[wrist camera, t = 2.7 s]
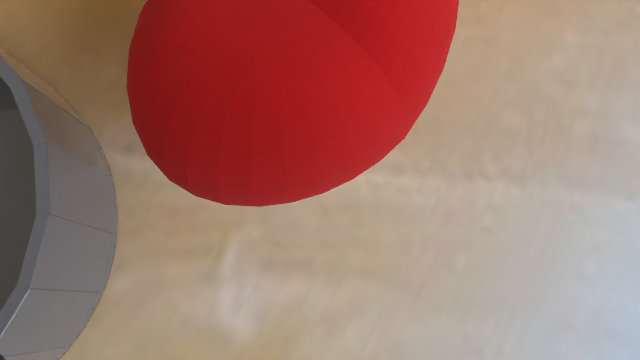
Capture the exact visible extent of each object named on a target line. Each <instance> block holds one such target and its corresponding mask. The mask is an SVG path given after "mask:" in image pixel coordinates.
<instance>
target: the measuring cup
mask: <svg viewBox="0 0 640 360" xmlns="http://www.w3.org/2000/svg"><path fill="white" fill-rule="evenodd" d="M117 215H118V212H117V203H116V194H115V187H114V183H113V179H112V175H111V171H110V168H109V165H108V163H107V160H106V158H105V155H104V153H103V150H102V148H101V146H100V144H99V143H98V141H97V139H96V137H95V136H94V134H93V132H92V131H91V129H90V128H89V126H88V125H87V124H86V123H85V121H84V120H83V119H82V118H81V116H80V115H79V114H78V113H77V112H76V111H75V110H74V109H73V108H72V107H71V106H70V105H69V104H68V103H67V102H66V101H65V100H64V99H63V98H62V97H61V96H60V95H59V94H58V93H57V92H56V91H55V90H54V89H53V88H52V87H50V86H49V85H48V84H46V83H45V82H44V81H42V80H41V79H40V78H39V77H37V76H36V75H35V74H33V73H32V72H31V71H29V70H28V69H27V68H25V67H24V66H23V65H21V64H20V63H19V62H18V61H16V60H15V59H14V58H12V57H11V56H10V55H8V54H7V53H6V52H4V51H3V50H2V49H0V354H2V355H3V357H4V358H5V359H6V360H59V358H60V357H61V356H62V355H63V354H64V353H65V352H66V351H67V350H68V349H69V348H70V346H71V345H72V344H73V342H74V341H75V340H76V338H77V337H78V336H79V334H80V333H81V332H82V330H83V329H84V328H85V326H86V324H87V322H88V321H89V319H90V317H91V316H92V314H93V312H94V310H95V309H96V307H97V305H98V302H99V300H100V298H101V295H102V293H103V291H104V288H105V286H106V283H107V280H108V277H109V273H110V270H111V266H112V263H113V259H114V252H115V246H116V239H117Z"/></svg>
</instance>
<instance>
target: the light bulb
mask: <svg viewBox="0 0 640 360" xmlns="http://www.w3.org/2000/svg"><path fill="white" fill-rule="evenodd" d="M458 4H459V0H147V2H146V4H145V5H144V7H143V9H142V11H141V13H140V15H139V18H138V21H137V25H136V28H135V31H134V34H133V37H132V40H131V44H130V48H129V57H128V72H127V92H128V97H129V103H130V109H131V115H132V120H133V124H134V126H135V129H136V131H137V133H138V135H139V137H140V140H141V142H142V144H143V146H144V148H145V151H146V153H147V155H148V156H149V157H150V158H151V160H152V161H153V162H154V163H155V164H156V165H157V167H158V168H159V169H160V170H161V171H162V172H163V174H164V175H165V176H166V177H167V178H168V179H169V180H170V181H172V182H173V183H175V184H177V185H178V186H180V187H182V188H183V189H185V190H186V191H188V192H190V193H191V194H193V195H195V196H197V197H200V198H204V199H207V200H211V201H214V202H218V203H222V204H225V205H240V206H257V207H259V206H268V205H275V204H283V203H291V202H295V201H298V200H301V199H305V198H308V197H312V196H315V195H318V194H322V193H324V192H326V191H329V190H331V189H333V188H335V187H337V186H339V185H341V184H343V183H346V182H348V181H350V180H352V179H354V178H355V177H357V176H358V175H360V174H361V173H363V172H364V171H366V170H367V169H369V168H370V167H372V166H373V165H375V164H376V163H378V162H379V161H380V160H382V159H383V158H384V157H385V156H386V155H387V154H388V153H389V152H390V151H391V150H392V149H394V148H395V147H396V146H397V145H398V144H399V143H400V142H401V141H402V140H403V139H404V138H405V137H406V135H407V134H408V132H409V131H410V129H411V128H412V126H413V125H414V123H415V122H416V120H417V119H418V117H419V115H420V114H421V112H422V111H423V109H424V108H425V106H426V105H427V103H428V101H429V99H430V97H431V94H432V92H433V90H434V88H435V86H436V84H437V81H438V79H439V77H440V75H441V73H442V71H443V68H444V65H445V62H446V59H447V55H448V52H449V48H450V45H451V42H452V38H453V35H454V31H455V28H456V21H457V13H458Z"/></svg>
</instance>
